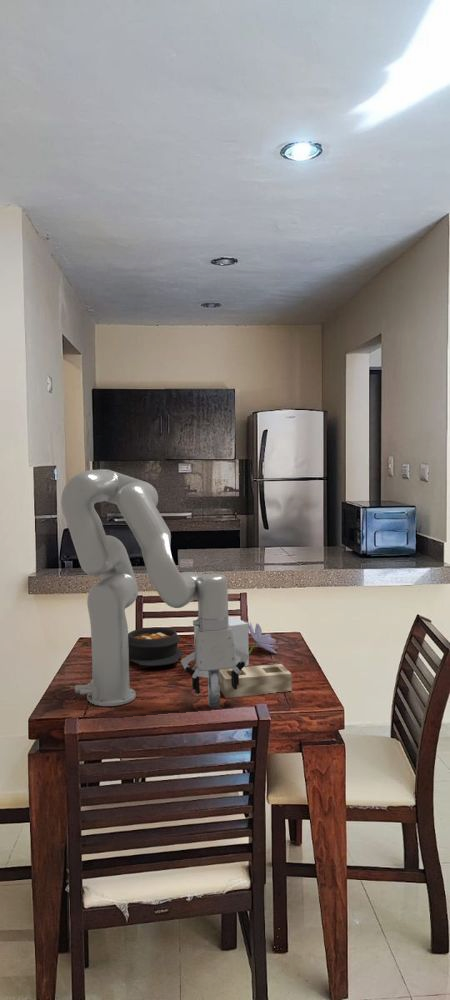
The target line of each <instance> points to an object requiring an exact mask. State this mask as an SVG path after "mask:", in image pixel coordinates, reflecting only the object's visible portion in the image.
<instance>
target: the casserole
mask: <svg viewBox="0 0 450 1000" xmlns="http://www.w3.org/2000/svg"><path fill="white" fill-rule="evenodd" d="M177 633H178V632H176V630H174V629H172V628H166V627H144V628H139V629H135V630H132V631H129V632H128V647H129V662H132V663H134V664H135V663H136V664H137V665H139V666H142V667H161V666H167V665H174V664H176V663H177V662H179V660H180V658H181V656H183V654H184V652H183V650H182V649H181V648H179V647H178V644H179V642H180V640H181V638H180V637H179V635H178V634H177Z"/></svg>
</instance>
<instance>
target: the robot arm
mask: <svg viewBox="0 0 450 1000" xmlns="http://www.w3.org/2000/svg"><path fill="white" fill-rule="evenodd" d="M60 498H61V500H60V504H61V510H62V514H63V517H64V520H65V522H66V525H67V527H68V531H69V533H70V537H71V541H72V543H73V546H74V549H75V553H76V555H77V558H78V559H77V560H78V562H79V565H80V567H81V570H82V571H84V572H83V573H85V574H86V575H89V576H93V577H94V576H96V577H98V576H99V577H100V581H98V582H95V584H93V586H92V587H91V588H90V590H89V592H88V595H87V600H86V601H87V602H86V603H87V604H86V605H87V610H88V617H89V622H90V623H89V624H90V634H91V635H90V636H91V637H90V639H91V671H92V672H91V674H92V677H91V678H92V679H90V682H89V683H86V684H76V685H74V693H75V694H80V695H83V696H84V695H86V699H87V700H88V701H89V702H90V703H89V702H88V701H87V700H86V701H87V702H88V703H89V704H91V703H92V705H93V704H94V705H93V706H97V705H98V706H99V707H117V706H122V705H125V704H128V703H131V702H133V700H135V699H136V694H137V693H136V690H134V689H133V688H130V661H129V647H128V633H129V627H128V622H127V615H126V609H127V608H128V607H130V606H132V605H133V604H134V602H136V600H137V598H138V594H139V585H138V583H137V578H136V575H135V572H134V569H133V566H132V563H131V560H130V557H129V554H128V552H127V551H128V550H127V549H126V547H125V545H124V544H123V542H122V541H121V540H120V539H118V538H117V537H115V536H113V535H106V531H105V529H104V526H103V523H102V520H101V519H102V518H100V516H99V514H98V512H97V510H96V509H95V505H96V503H101V502H107V503H109V504H113V505H116V506H117V508H118V511H119V512H120V514H121V516H122V517H123V520H124V521H125V522H126V524H127V526H128V527H129V529H130V531H131V532H132V534H133V536H134V538H135V539H136V542H137V544H138V545H139V548H140V549H141V554H142V558H143V562H144V567H145V569H146V572H147V575H148V578H149V579H150V581H151V583H152V585H153V587H154V589H155V590H156V592H157V594H158V595H159V597H160V598H161V600H162V601H163V603H164V604H166V605H167V606H169V607H170V608H174V609H180V608H183V607H186V606H187V605H188V604H189V603H191V602H194V601H196V600H197V611H198V612H197V615H198V616H197V617H198V619H197V620H194V619H193V620H192V625H193V627H194V626H198V627H199V628H198V629H197V630H196V636H195V648H194V647H193V649H194V651H193V652H192V653H190V654H188V655H187V656H185V657H184V658H182V659H181V660H180V663H181V665H182V666H183V669H184V671H185V672H186V673H187V674H189V676H191V681H192V682H191V683H192V690H194V691H195V693H196V695H197V694H200V693H201V691H200V687H201V685H200V677H198V675H199V673H200V672H201V671H211V670H221V669H229V668H232V669H233V670H232V672H231V683H232V687H233V688H234V689H235V690H236V689H237V685H239V673H240V671H241V670H242V668H243V667H246V666H245V663H246V661H247V659H248V657H249V656H250V655H249V656H248V654H246V653H244V652H242V651H239V650H237V649H235V642H234V635H233V630H232V628H231V627H229V620H228V619H229V598H228V597H229V594H228V593H229V592H228V579H227V576H225V575H224V574H221V573H206V574H205V573H196V572H192V571H183V572H180V571H179V569H178V568H177V567H178V566H176V563H175V561H174V557H173V556H172V550H171V542H172V541H171V539H172V534H171V530H170V529H169V527H168V525H167V524H166V522H165V520H164V518H163V517H162V515H161V513H160V511H159V510H158V508H157V505H158V503H159V494H158V492H157V489H156V488H155V487H154V486H153V485H152V484H151V483H149V482H147V481H144V480H141V479H138V478H135V477H132V476H129V475H126V474H124V473H119V472H117V471H113V470H111V469H105V468H104V469H91V470H90V469H87V470H83V471H80V472H79V473H77V474H75V475H74V476H72V477H71V478H70V479H69V480H68V481H67V483H66V484H65V486H64V488H63V489H62V492H61V497H60ZM236 655H237V656H240V657H241V660H240V662H239V663H238V664H237V665H236ZM249 658H250V657H249ZM193 660H194V666H193V668H191V667H190V665H189V663H190V662H192V661H193ZM98 706H97V707H98Z"/></svg>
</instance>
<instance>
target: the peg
mask: <svg viewBox="0 0 450 1000" xmlns="http://www.w3.org/2000/svg"><path fill="white" fill-rule="evenodd" d="M207 686H208V687H207V689H208V690H207V693H208V696H207V698H208V700H207V701H208V707H209V708H213V709H216V708H219V707H221V690H220V670H211V671H208V678H207Z"/></svg>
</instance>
